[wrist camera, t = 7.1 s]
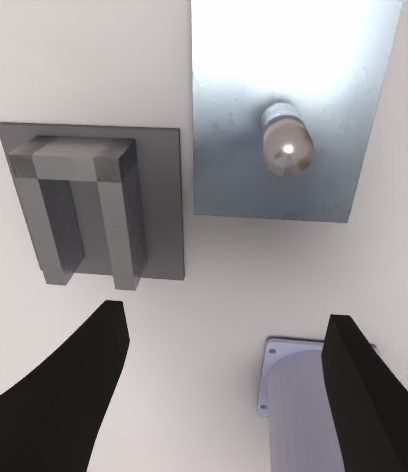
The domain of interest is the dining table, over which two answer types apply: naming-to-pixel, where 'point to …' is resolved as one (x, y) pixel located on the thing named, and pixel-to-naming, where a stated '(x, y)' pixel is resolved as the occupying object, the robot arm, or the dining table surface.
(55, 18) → the dining table surface
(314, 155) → the metal base with post
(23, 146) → the gray tabletop stand
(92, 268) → the mat
